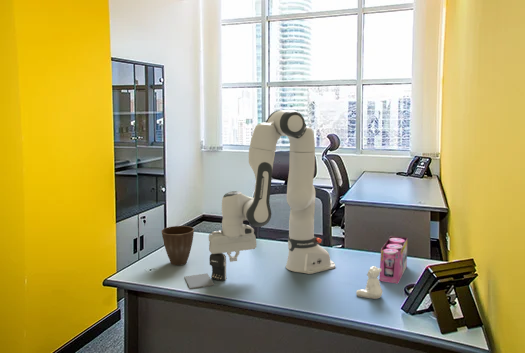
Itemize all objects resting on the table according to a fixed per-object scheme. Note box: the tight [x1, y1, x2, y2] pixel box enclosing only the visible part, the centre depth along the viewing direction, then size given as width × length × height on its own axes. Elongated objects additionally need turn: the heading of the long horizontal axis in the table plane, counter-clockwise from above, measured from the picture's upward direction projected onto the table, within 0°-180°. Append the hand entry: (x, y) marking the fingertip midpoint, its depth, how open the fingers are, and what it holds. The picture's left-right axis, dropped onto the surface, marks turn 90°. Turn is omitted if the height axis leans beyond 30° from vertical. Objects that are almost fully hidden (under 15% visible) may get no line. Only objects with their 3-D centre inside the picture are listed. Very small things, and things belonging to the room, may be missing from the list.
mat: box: [184, 272, 215, 290], centre depth 183 cm, size 10×13×1 cm
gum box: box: [378, 235, 409, 285], centre depth 187 cm, size 24×8×14 cm, turn 153°
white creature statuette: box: [355, 265, 383, 300], centre depth 166 cm, size 10×9×12 cm
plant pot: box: [161, 225, 195, 266], centre depth 205 cm, size 15×15×16 cm
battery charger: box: [209, 253, 227, 282], centre depth 184 cm, size 7×4×11 cm, turn 55°
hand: (233, 261), depth 186 cm, fingers closed
